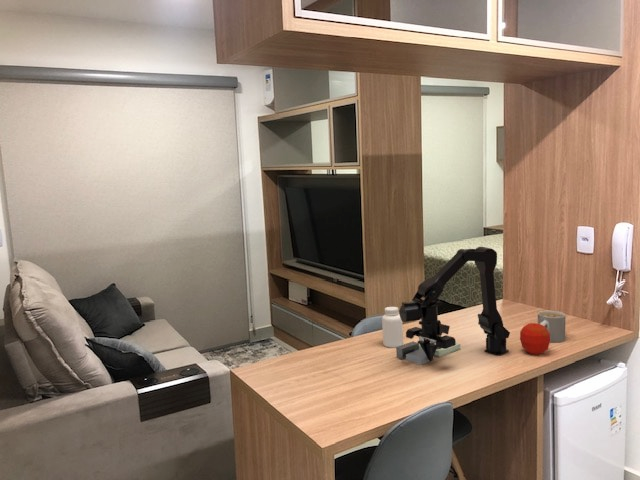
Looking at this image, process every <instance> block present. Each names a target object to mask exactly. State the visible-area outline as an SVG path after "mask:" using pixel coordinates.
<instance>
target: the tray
mask: <svg viewBox="0 0 640 480" xmlns="http://www.w3.org/2000/svg"><path fill="white" fill-rule="evenodd" d="M419 350H421V351H424V350H423V349H422V347H421V346H420V344H419ZM459 350H461V343H460V342H456V345H455V346H452V347H449V348H446V349H443V348H441V349H436V352H435V354H434V357H436V358H442V357H445V356H447V355H450V354H452V353H455V352H458V351H459Z"/></svg>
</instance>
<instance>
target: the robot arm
mask: <svg viewBox="0 0 640 480" xmlns="http://www.w3.org/2000/svg"><path fill="white" fill-rule="evenodd" d="M468 262H474V265H475V267H476V268H477V270H478V272H479V280H480V291H481V301H482V311H481V313H477V319H478V324H477V325H479V327H480V329H482V330H483V334H486V338H485V349H483V350H484V351H483V352H484V353H488V354H492V355H496V356H501V355H503V354H506V353H509V352H510V350H509V349H507V339H509V338H510V334H511V332H510V331H509V330H508V329H507V328H506V327H504V322H503V318H502V316H501V314H500V312H499V310H498V307H497V294H496V285H495V283H496V282H495V276H494V275H495V274H494V272H495V269H496V266H497V265H498V264H497V263H498V252H497V251H496V250H495V249H494V248H490V247H486V246H478V247H476V248H467V249H466V248H459V249H458V250H457V251H456V253H455V254H454V255H453V256H452V257H451V258H450V259H449V260H448V262H446V263H445V264H444V265H443V266H442V267H441V268H440V269H439V270H438V272H437V273H436V274H434V275H432V276H431V277H428V278H426V279H425V280H424V281H422V282H421V283H420V284H419V285H418V286H417V291H416V293H415V295H414V296H413V298H412V299H411V301H408V302H407V301H405V302H402V303H401V306H400V309H398V312H399V313H398V314H400V318H401V320H402V323H409V322H416V321H418V325H420V326H421V327H418V326H414V327H412V328H407V330H406V332H405V337H406V338H407V339H409V340H410V339H411V340H412V339H413V338H414V336H415V337H417V338H418V340H417V341H416V342H417V343H419V344H420V346H421V347H422V349H423V350H424V352H425V354H426V356H427V358H428V360H429V362H432V361H434V360H433V357H434V358H435V356H434V354H435V352H436V349H437V347H440V348H443V349H446V348H449V347H452V346H455V345H456V343H457V342H456V338H455V337H453V336H450V335H449V332H450V325H447V324H443V323H442V322H441V320H440V319H438V318H439V317H438V306H443V305H444V303H443V302H442V301H441V300H440V299H439V297H440V296H441V294H442V293H443V292H444V288H445V286H446V284H447V283H448V282H449V281H450V280H451V279H452V278H453V277H454V276H455V275H456V274H457V273H458V272H459V271H460V270H461V269H462V268H463V267H464V266H465V265H466V264H467V263H468ZM443 334H445V335H443ZM438 335H441V337H439V336H438ZM442 335H443V336H442Z"/></svg>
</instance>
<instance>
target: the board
mask: <svg viewBox="0 0 640 480" xmlns="http://www.w3.org/2000/svg"><path fill="white" fill-rule="evenodd" d="M434 358H435V356H434V357H433V360H432V361H434ZM405 361H408V362H411V363H413V364H417V365H420V366H421V365H424V364H426V363H430V361H429V360H428V358H427V356H426V354H425V352H424V351H421V350H417V351H414V352H411V353H409V354H406V358H405Z"/></svg>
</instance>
